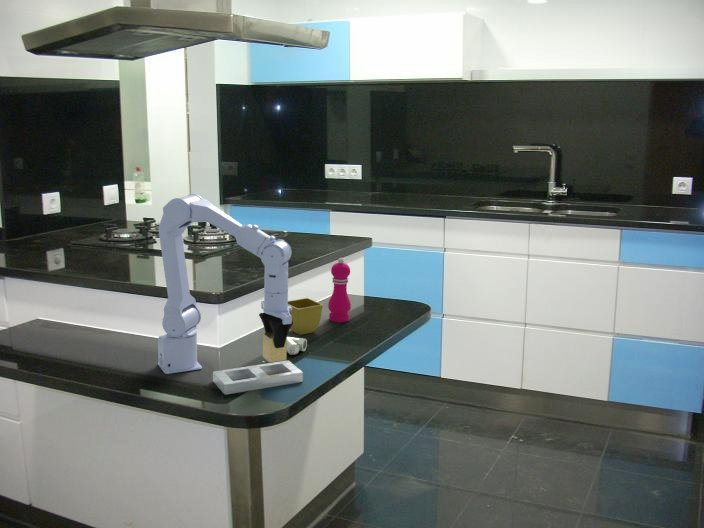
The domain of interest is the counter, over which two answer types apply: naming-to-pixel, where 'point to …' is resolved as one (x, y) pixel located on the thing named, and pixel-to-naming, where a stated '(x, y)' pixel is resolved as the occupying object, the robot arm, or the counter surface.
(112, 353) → the counter surface
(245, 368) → the white block holder tray
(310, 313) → the flower pot
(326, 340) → the counter surface
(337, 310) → the pepper mill
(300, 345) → the pipe fitting
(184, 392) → the counter surface
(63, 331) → the counter surface
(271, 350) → the wooden block
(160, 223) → the robot arm
